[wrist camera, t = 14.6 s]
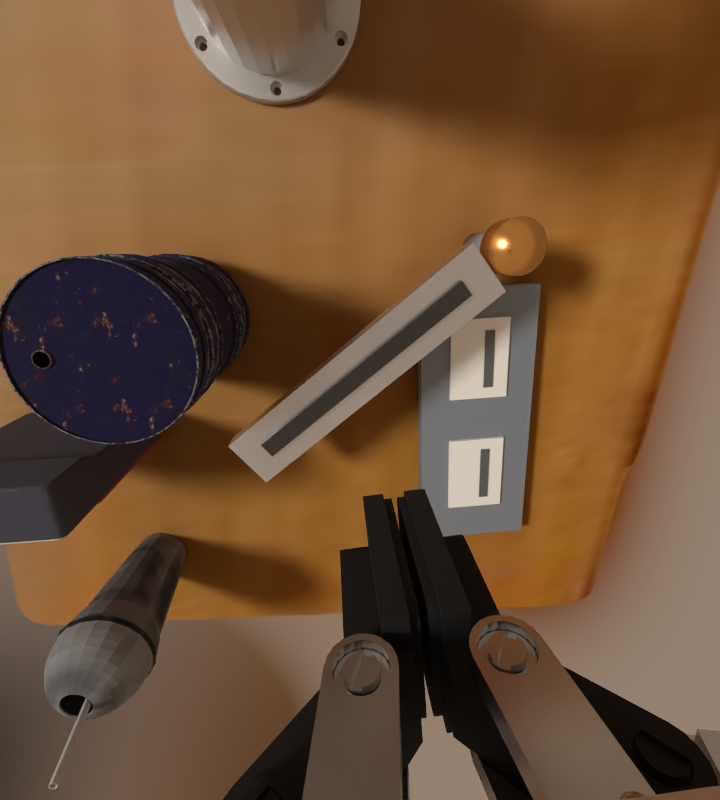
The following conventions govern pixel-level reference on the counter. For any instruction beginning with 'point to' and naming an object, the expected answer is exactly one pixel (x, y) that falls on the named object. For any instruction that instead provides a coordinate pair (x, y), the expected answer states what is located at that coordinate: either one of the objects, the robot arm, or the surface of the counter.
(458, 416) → the label board
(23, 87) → the counter surface
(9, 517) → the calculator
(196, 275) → the blue oil drum
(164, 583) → the beverage cup
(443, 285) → the swing arm
